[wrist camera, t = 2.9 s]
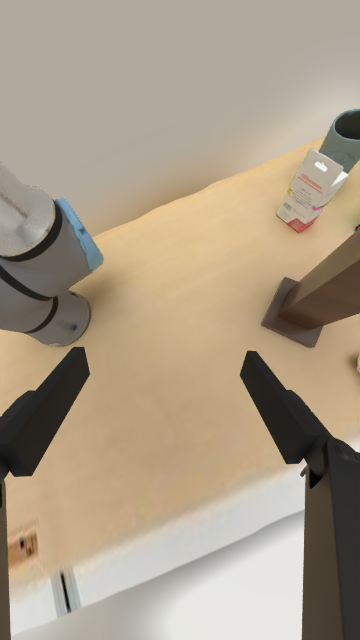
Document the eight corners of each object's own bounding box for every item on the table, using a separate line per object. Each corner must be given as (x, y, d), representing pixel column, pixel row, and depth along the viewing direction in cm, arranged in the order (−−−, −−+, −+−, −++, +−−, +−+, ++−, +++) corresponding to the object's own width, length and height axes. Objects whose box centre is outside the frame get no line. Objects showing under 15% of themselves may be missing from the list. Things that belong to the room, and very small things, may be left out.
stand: (308, 352, 35) (755, 290, 7) (258, 328, 38) (429, 212, 10) (331, 295, 38) (725, 77, 9) (283, 276, 41) (477, 63, 12)
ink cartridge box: (313, 223, 44) (366, 156, 30) (298, 233, 43) (344, 170, 29) (289, 205, 46) (327, 134, 32) (275, 214, 46) (307, 147, 32)
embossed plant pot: (328, 165, 48) (368, 102, 37) (349, 188, 45) (399, 128, 34) (295, 177, 49) (323, 119, 37) (313, 201, 46) (350, 145, 34)
